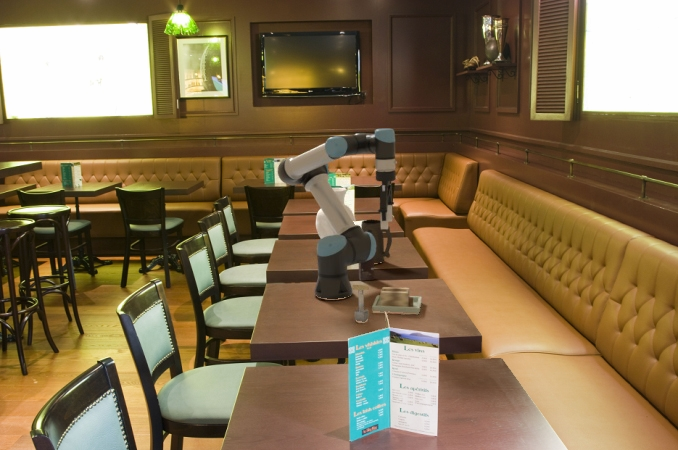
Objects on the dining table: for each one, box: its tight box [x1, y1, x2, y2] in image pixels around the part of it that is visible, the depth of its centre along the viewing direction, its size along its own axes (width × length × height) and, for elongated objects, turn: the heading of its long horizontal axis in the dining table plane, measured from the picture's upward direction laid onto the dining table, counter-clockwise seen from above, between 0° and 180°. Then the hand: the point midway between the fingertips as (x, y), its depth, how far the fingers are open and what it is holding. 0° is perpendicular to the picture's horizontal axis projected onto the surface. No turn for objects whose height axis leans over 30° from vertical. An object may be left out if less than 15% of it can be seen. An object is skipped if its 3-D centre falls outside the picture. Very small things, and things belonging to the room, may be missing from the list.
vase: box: [315, 187, 357, 239], centre depth 332 cm, size 19×21×30 cm
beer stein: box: [360, 219, 393, 263], centre depth 298 cm, size 15×11×20 cm
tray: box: [371, 294, 423, 315], centre depth 238 cm, size 17×13×3 cm
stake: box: [351, 284, 370, 322], centre depth 224 cm, size 6×4×13 cm
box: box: [358, 256, 375, 282], centre depth 273 cm, size 6×4×12 cm
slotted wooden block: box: [380, 286, 413, 307], centre depth 237 cm, size 12×6×6 cm, turn 79°
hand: (386, 225), depth 245 cm, fingers open, 13 cm apart
